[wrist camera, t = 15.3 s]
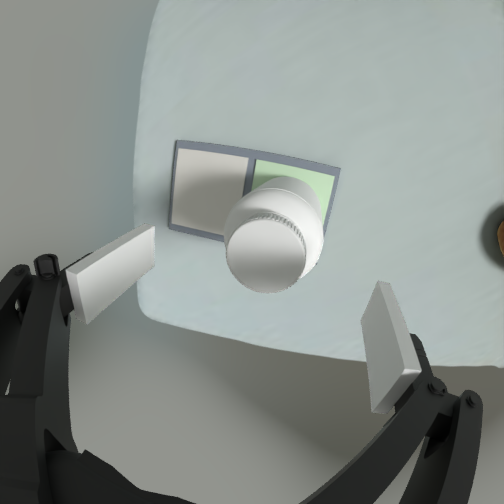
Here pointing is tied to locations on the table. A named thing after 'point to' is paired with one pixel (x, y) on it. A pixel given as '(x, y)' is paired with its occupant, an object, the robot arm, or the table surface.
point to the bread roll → (501, 237)
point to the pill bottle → (274, 235)
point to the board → (234, 183)
